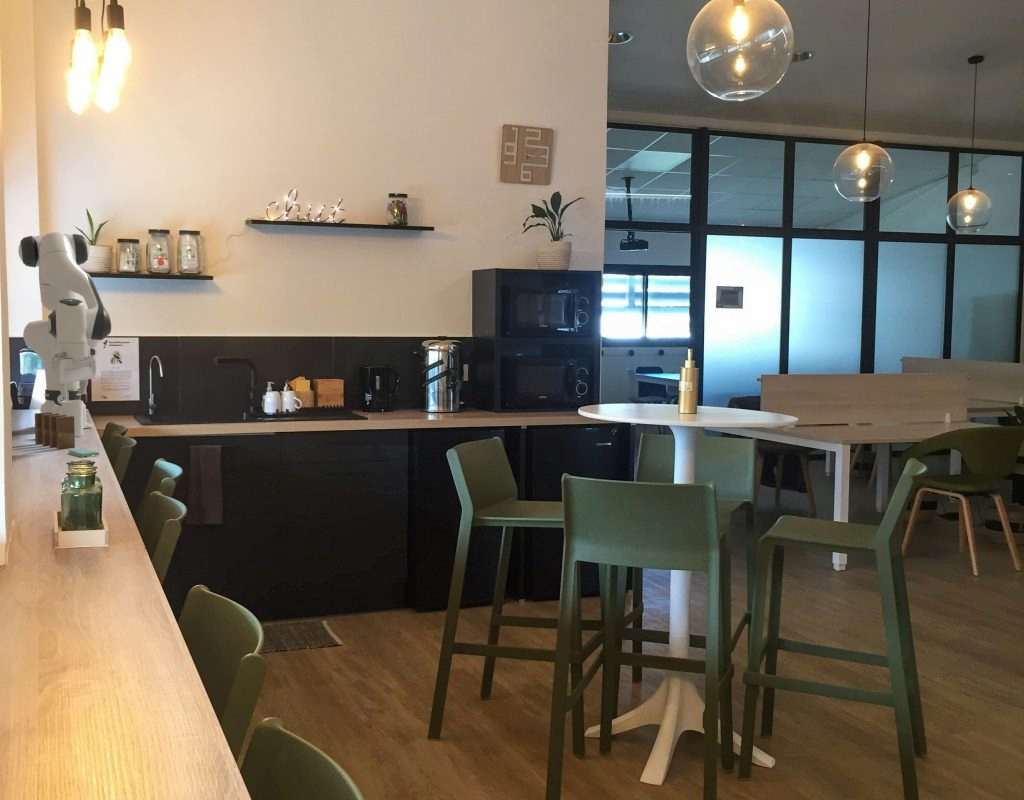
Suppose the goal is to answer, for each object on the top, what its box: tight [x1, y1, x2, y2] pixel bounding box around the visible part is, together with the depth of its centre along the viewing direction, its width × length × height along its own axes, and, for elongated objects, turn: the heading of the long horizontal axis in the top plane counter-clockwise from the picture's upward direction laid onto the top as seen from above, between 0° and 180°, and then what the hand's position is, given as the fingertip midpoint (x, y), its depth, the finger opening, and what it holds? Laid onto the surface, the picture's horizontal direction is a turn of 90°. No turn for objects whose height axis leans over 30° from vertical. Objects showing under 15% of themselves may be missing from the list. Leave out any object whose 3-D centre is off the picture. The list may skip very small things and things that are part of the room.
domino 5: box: [68, 447, 100, 458], centre depth 310 cm, size 2×5×10 cm
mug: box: [52, 400, 84, 438], centre depth 347 cm, size 10×7×12 cm, turn 112°
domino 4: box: [56, 416, 76, 450], centre depth 321 cm, size 2×5×10 cm, turn 142°
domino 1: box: [34, 412, 52, 445], centre depth 330 cm, size 2×5×10 cm, turn 141°
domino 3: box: [49, 415, 67, 449], centre depth 324 cm, size 2×5×10 cm, turn 142°
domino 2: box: [41, 414, 59, 447], centre depth 327 cm, size 2×5×10 cm, turn 142°
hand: (73, 395), depth 318 cm, fingers open, 8 cm apart
